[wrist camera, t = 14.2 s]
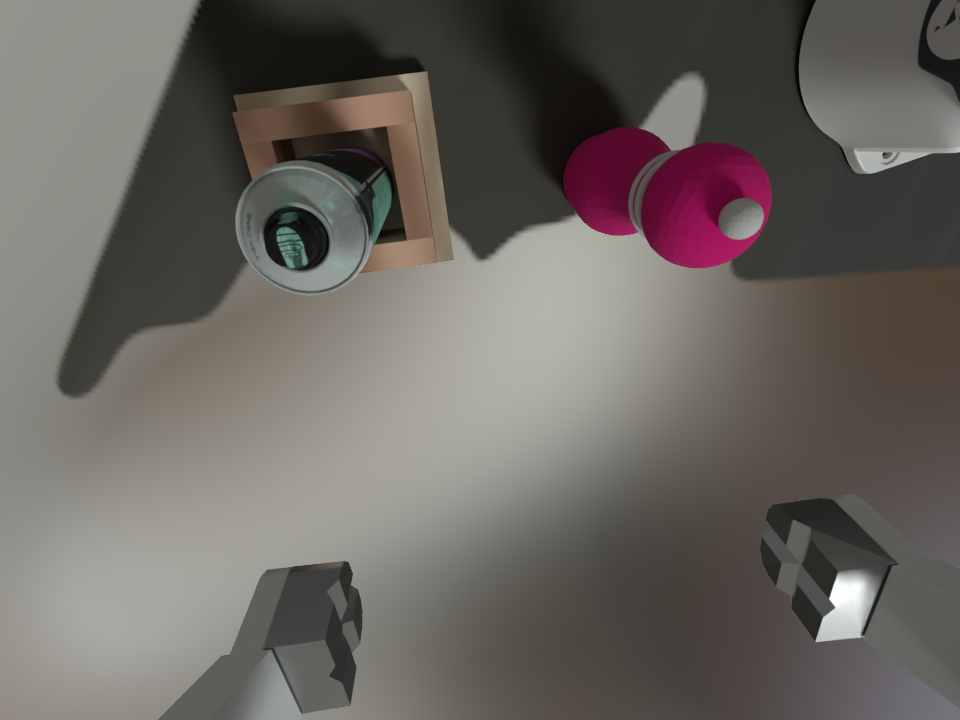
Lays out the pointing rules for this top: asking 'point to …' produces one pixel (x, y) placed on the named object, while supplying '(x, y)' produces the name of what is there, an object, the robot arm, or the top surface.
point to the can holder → (367, 124)
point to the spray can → (314, 219)
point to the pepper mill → (670, 194)
